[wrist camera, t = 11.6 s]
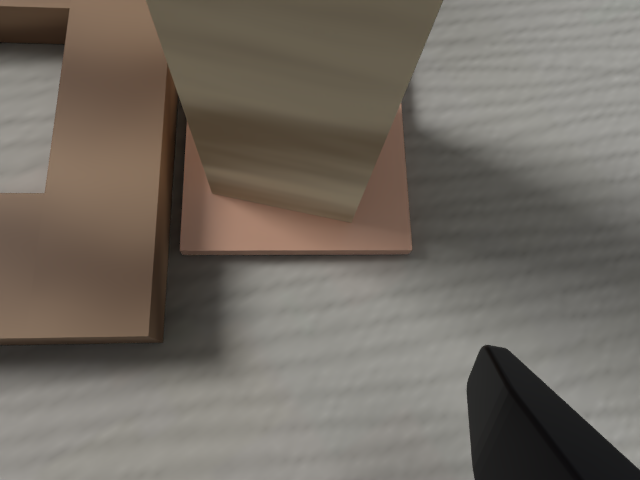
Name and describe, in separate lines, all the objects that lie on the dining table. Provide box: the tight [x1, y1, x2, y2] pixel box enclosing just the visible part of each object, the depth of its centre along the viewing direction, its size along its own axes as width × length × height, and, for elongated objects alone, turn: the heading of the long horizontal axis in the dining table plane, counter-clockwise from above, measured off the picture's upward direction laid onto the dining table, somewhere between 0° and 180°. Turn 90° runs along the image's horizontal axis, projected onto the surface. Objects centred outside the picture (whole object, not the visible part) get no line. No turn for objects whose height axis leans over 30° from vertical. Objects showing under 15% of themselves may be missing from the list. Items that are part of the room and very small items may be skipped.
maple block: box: [146, 0, 443, 223], centre depth 13 cm, size 5×5×13 cm
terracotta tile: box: [180, 104, 412, 255], centre depth 19 cm, size 8×8×1 cm
